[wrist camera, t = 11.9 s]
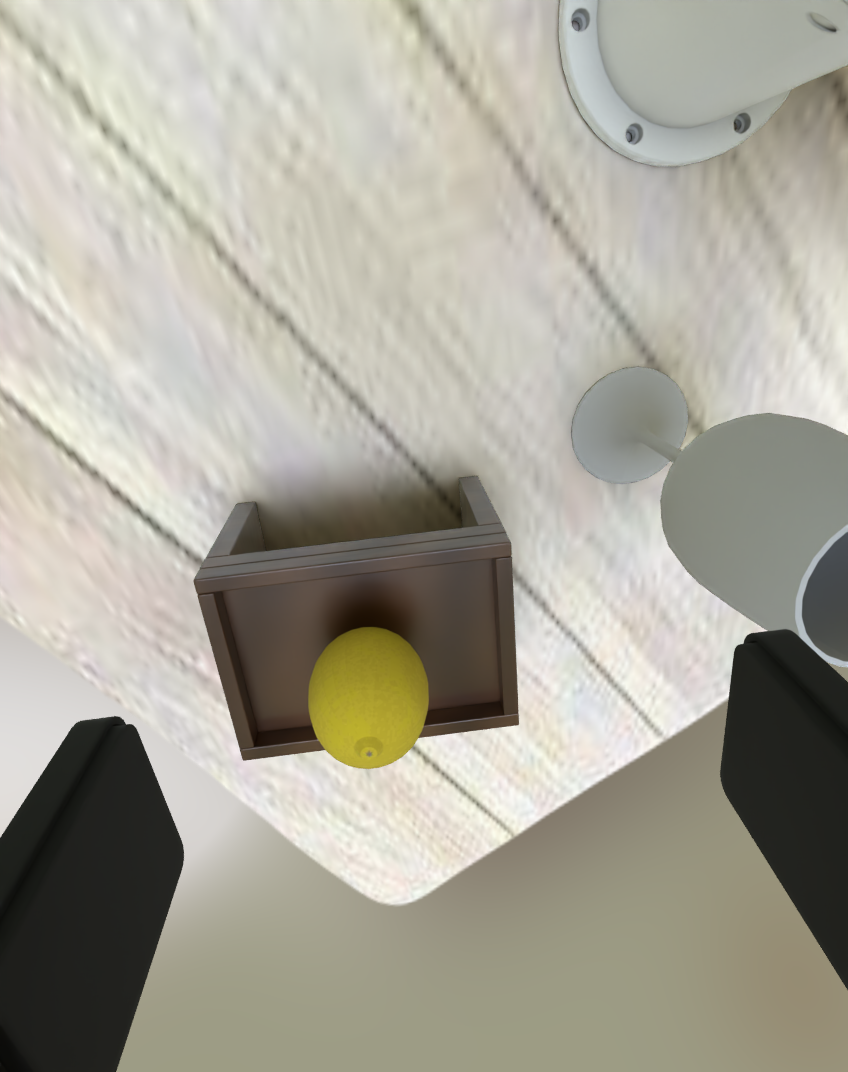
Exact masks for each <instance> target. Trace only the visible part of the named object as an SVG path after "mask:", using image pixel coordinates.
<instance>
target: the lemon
mask: <svg viewBox="0 0 848 1072" xmlns="http://www.w3.org/2000/svg"><path fill="white" fill-rule="evenodd" d="M428 704H429V693H428V680H427V675H426V672H425V670H424V667H423V664H422V661H421V659H420V657H419V656H418V654H417V653H416V652H415V650H414V649H413V648H412V646H411V645H410V644H409V643H408V642H407V641H406V640H404V639H403V638H402V637H401V636H399V635H398V634H396V633H393V632H391V631H389V630H387V629H382V628H377V627H361V628H357V629H353V630H350V631H348V632H346V633H344V634H342V635H340V636H338V637H337V638H336V639H335V640H333V641H332V642H331V643H330V644H329V645H328V646H327V647H326V648H325V650H324V651H323V652H322V654H321V655H320V657H319V658H318V660H317V662H316V664H315V667H314V670H313V673H312V676H311V679H310V683H309V695H308V707H309V714H310V719H311V722H312V725H313V728H314V732H315V734H316V736H317V738H318V740H319V741H320V743H321V744H322V746H323V747H324V749H325V750H326V751H327V752H328V753H329V754H330V755H332V756H333V757H334V758H335V759H336V760H338V761H340V762H342V763H344V764H346V765H348V766H352V767H356V768H365V769H371V768H379V767H382V766H385V765H388V764H391V763H393V762H394V761H396V760H398V759H399V758H401V757H403V756H404V755H405V754H406V753H407V752H408V751H409V750H410V749H411V748H412V747H413V746H414V744H415V742H416V741H417V739H418V737H419V735H420V734H421V732H422V729H423V726H424V722H425V719H426V715H427V711H428Z"/></svg>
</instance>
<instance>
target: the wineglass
mask: <svg viewBox="0 0 848 1072" xmlns="http://www.w3.org/2000/svg"><path fill="white" fill-rule="evenodd" d="M687 424H688V409H687V404H686V401H685V398H684V395H683V393H682V392H681V390H680V389H679V387H678V385H677V384H676V383H675V382H674V381H673V380H672V379H670V378H669V377H668V376H667V375H665V374H663V373H661V372H659V371H656V370H654V369H650V368H644V367H631V368H623V369H621V370H618V371H615V372H612V373H610V374H608V375H607V376H605V377H603V378H602V379H600V380H599V381H597V382H596V383H595V384H594V385H593V386H592V387H591V388H590V389H589V390H588V391H587V392H586V394H585V395H584V397H583V398H582V400H581V401H580V403H579V404H578V407H577V409H576V412H575V415H574V418H573V422H572V430H571V436H572V444H573V448H574V451H575V454H576V456H577V459H578V460H579V461H580V463H581V464H582V465H583V467H584V468H585V469H586V470H587V471H588V472H590V473H591V474H592V475H594V476H595V477H596V478H599V479H601V480H604V481H606V482H610V483H618V484H624V483H633V482H637V481H640V480H643V479H646V478H648V477H650V476H652V475H653V474H655V473H657V472H658V471H660V470H661V469H662V468H663V467H664V466H665V465H667V464H668V463H669V462H670V461H671V462H673V464H672V466H671V468H670V470H669V472H668V475H667V477H666V479H665V481H664V484H663V489H662V495H661V500H660V503H661V518H662V527H663V531H664V534H665V537H666V540H667V542H668V545H669V547H670V548H671V550H672V551H673V553H674V554H675V555H676V557H677V558H678V560H679V561H680V562H681V564H682V565H683V566H684V568H685V569H686V570H687V572H688V573H689V574H690V575H691V576H692V577H693V578H694V579H695V580H696V581H697V582H698V583H699V584H701V585H702V586H703V587H705V588H706V589H707V590H709V591H710V592H711V593H713V594H714V595H716V596H717V597H718V598H720V599H721V600H722V601H724V602H725V603H727V604H728V605H729V606H731V607H732V608H734V609H735V610H737V611H738V612H740V613H741V614H743V615H744V616H746V617H747V618H749V619H750V620H752V621H753V622H755V623H756V624H758V625H759V626H761V627H762V628H764V629H766V630H767V631H773V630H781V629H788V630H791V631H793V632H794V633H796V634H797V635H798V636H799V637H800V638H801V639H802V640H803V641H804V642H805V643H806V644H808V645H809V646H810V647H811V648H812V649H813V650H814V651H815V652H816V653H817V654H818V655H819V656H820V657H821V658H823V659H824V660H825V661H826V662H829V663H832V664H835V665H838V666H840V667H848V435H846V434H844V433H842V432H839V431H837V430H835V429H833V428H831V427H829V426H826V425H824V424H821V423H818V422H815V421H812V420H809V419H805V418H799V417H792V416H786V415H779V414H772V413H765V414H756V415H747V416H743V417H740V418H736V419H733V420H730V421H727V422H724V423H721V424H718V425H716V426H714V427H712V428H710V429H709V430H707V431H705V432H704V433H702V434H701V435H699V436H697V437H696V438H695V439H694V440H693V441H692V442H691V443H690V444H689V445H688V446H687V447H685V448H684V449H683V450H682V451H681V450H679V448H680V446H681V444H682V442H683V439H684V437H685V434H686V429H687Z"/></svg>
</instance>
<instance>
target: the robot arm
mask: <svg viewBox="0 0 848 1072" xmlns="http://www.w3.org/2000/svg"><path fill="white" fill-rule="evenodd" d="M574 20H575V21H577V22H578V23H579V25H580V29H579V31H576V30H575V29H574V28H573V27H572V21H574ZM559 43H560V51H561V60H562V66H563V70H564V73H565V77H566V80H567V84H568V87H569V90H570V93H571V95H572V97H573V99H574V101H575V103H576V105H577V107H578V109H579V111H580V113H581V115H582V117H583V118H584V120H585V121H586V122H587V123H588V125H589V126H590V127H591V129H592V130H593V131H594V133H595V134H596V135H597V136H598V137H599V138H600V139H601V140H603V141H604V142H605V143H606V144H607V145H609V146H610V147H611V148H612V149H613V150H614V151H616V152H618V153H620V154H622V155H624V156H626V157H628V158H630V159H632V160H634V161H637V162H641V163H645V164H649V165H653V166H673V167H679V166H683V165H688V164H693V163H697V162H702V161H704V160H707V159H710V158H712V157H715V156H718V155H721V154H723V153H724V152H726V151H728V150H730V149H732V148H733V147H735V146H737V145H739V144H741V143H742V142H744V141H745V140H746V139H747V138H749V137H750V136H751V135H752V134H753V133H755V132H756V131H757V130H758V129H760V128H761V127H762V126H763V125H764V124H765V123H766V122H767V121H768V120H769V119H770V117H771V116H772V115H773V114H774V113H775V112H776V111H777V110H778V108H779V107H780V106H781V105H782V104H783V102H784V101H785V99H786V98H787V96H788V95H789V93H790V92H791V90H792V89H793V88H795V87H797V86H799V85H802V84H804V83H806V82H809V81H811V80H814V79H816V78H818V77H821V76H823V75H825V74H828V73H830V72H833V71H835V70H837V69H840V68H842V67H844V66H847V65H848V0H560V7H559ZM734 122H735V123H736V124H737V128H736V130H734ZM627 131H628V132H630V133H631V134H632V140H631V141H630V142H628V141H627V139H626V132H627ZM720 777H721V782H722V786H723V789H724V792H725V794H726V796H727V798H728V799H729V801H730V803H731V804H732V806H733V807H734V809H735V811H736V812H737V814H738V815H739V817H740V818H741V820H742V822H743V823H744V825H745V827H746V828H747V829H748V831H749V833H750V835H751V836H752V838H753V839H754V841H755V843H756V844H757V846H758V847H759V849H760V850H761V852H762V854H763V855H764V857H765V858H766V860H767V862H768V863H769V865H770V866H771V868H772V870H773V871H774V873H775V875H776V876H777V878H778V879H779V881H780V883H781V884H782V886H783V887H784V889H785V891H786V892H787V894H788V895H789V897H790V899H791V900H792V902H793V903H794V905H795V906H796V908H797V910H798V911H799V913H800V914H801V916H802V918H803V919H804V921H805V923H806V924H807V926H808V927H809V929H810V930H811V932H812V933H813V935H814V937H815V939H816V940H817V942H818V943H819V945H820V947H821V948H822V950H823V951H824V953H825V954H826V956H827V958H828V959H829V961H830V962H831V964H832V966H833V967H834V969H835V970H836V972H837V974H838V975H839V977H840V979H841V980H842V982H843V983H844V985H845V987H846V988H847V989H848V682H847V681H846V680H845V679H844V678H843V677H842V676H841V675H840V674H838V673H837V672H836V671H835V670H834V669H833V668H832V667H831V666H830V665H829V664H828V663H827V662H826V661H825V660H824V659H823V658H821V657H820V656H819V655H818V654H817V653H816V652H815V651H814V650H813V649H812V648H811V647H810V646H809V645H808V644H806V643H805V642H804V641H803V640H802V639H801V638H800V637H799V636H798V635H797V634H796V633H794V632H793V631H791V630H788V629H781V630H773V631H766V632H758V633H751V634H749V635H747V636H746V638H745V640H744V644H740V645H737V647H736V648H735V651H734V658H733V667H732V675H731V684H730V692H729V701H728V710H727V718H726V727H725V735H724V745H723V753H722V761H721V770H720ZM183 861H184V850H183V844H182V841H181V838H180V836H179V833H178V831H177V828H176V826H175V823H174V821H173V818H172V816H171V813H170V811H169V808H168V806H167V803H166V801H165V798H164V796H163V793H162V791H161V788H160V786H159V783H158V781H157V778H156V776H155V773H154V771H153V769H152V766H151V763H150V761H149V758H148V756H147V754H146V751H145V749H144V746H143V744H142V741H141V739H140V736H139V734H138V731H137V729H136V728H135V727H134V726H133V725H132V724H127V725H126V724H125V722H124V720H123V719H122V718H120V717H116V716H114V717H107V718H99V719H92V720H84V721H80V722H78V723H76V724H75V725H74V726H73V727H72V728H71V730H70V731H69V733H68V735H67V736H66V738H65V739H64V741H63V742H62V744H61V745H60V747H59V748H58V750H57V751H56V753H55V755H54V756H53V758H52V759H51V761H50V762H49V764H48V765H47V767H46V768H45V770H44V771H43V773H42V775H41V776H40V778H39V779H38V781H37V782H36V784H35V785H34V787H33V788H32V790H31V791H30V793H29V794H28V796H27V798H26V799H25V801H24V802H23V804H22V805H21V807H20V808H19V810H18V811H17V813H16V814H15V816H14V818H13V819H12V821H11V822H10V824H9V825H8V827H7V829H6V830H5V832H4V833H3V834H2V836H1V838H0V1072H116V1070H117V1067H118V1064H119V1061H120V1058H121V1055H122V1052H123V1049H124V1046H125V1043H126V1040H127V1037H128V1034H129V1030H130V1027H131V1024H132V1021H133V1018H134V1015H135V1012H136V1009H137V1006H138V1003H139V1000H140V997H141V994H142V991H143V987H144V984H145V981H146V978H147V975H148V972H149V969H150V966H151V963H152V960H153V957H154V954H155V951H156V948H157V944H158V941H159V938H160V935H161V932H162V929H163V926H164V923H165V920H166V917H167V914H168V911H169V908H170V904H171V901H172V898H173V895H174V892H175V889H176V886H177V883H178V880H179V877H180V874H181V870H182V867H183Z"/></svg>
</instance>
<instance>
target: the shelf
mask: <svg viewBox="0 0 848 1072" xmlns="http://www.w3.org/2000/svg"><path fill="white" fill-rule="evenodd" d="M459 489H460V502H461V515H462V528H457V529H449V530H440V531H432V532H424V533H415V534H407V535H398V536H390V537H382V538H373V539H365V540H356V541H348V542H339V543H331V544H323V545H314V546H306V547H297V548H289V549H281V550H272V551H266V548H265V544H264V539H263V535H262V530H261V525H260V521H259V516H258V512H257V507H256V503H255V502H249V503H240V504H236V506H235V507H234V509H233V511H232V513H231V514H230V516H229V518H228V520H227V521H226V523H225V525H224V527H223V529H222V530H221V532H220V534H219V536H218V537H217V539H216V541H215V543H214V544H213V546H212V548H211V550H210V551H209V553H208V555H207V557H206V559H205V560H204V562H203V564H202V565H201V567H200V570H199V571H198V573H197V575H196V576H195V578H194V585H195V588H196V592H197V594H198V599H199V603H200V607H201V610H202V614H203V618H204V621H205V625H206V628H207V632H208V636H209V639H210V643H211V646H212V650H213V654H214V657H215V661H216V664H217V668H218V672H219V675H220V679H221V683H222V686H223V690H224V693H225V697H226V701H227V704H228V708H229V711H230V715H231V719H232V722H233V726H234V730H235V733H236V737H237V740H238V744H239V748H240V752H241V755H242V759H243V760H252V759H260V758H267V757H275V756H283V755H291V754H298V753H306V752H314V751H321V750H325V749H324V747H323V746H322V744H321V743H320V741H319V740H318V738H317V736H316V734H315V732H314V728H313V725H312V722H311V719H310V714H309V707H308V695H309V683H310V679H311V676H312V673H313V670H314V667H315V664H316V662H317V660H318V658H319V657H320V655H321V654H322V652H323V651H324V650H325V648H326V647H327V646H328V645H329V644H330V643H331V642H332V641H333V640H335V639H336V638H337V637H338V636H340V635H342V634H344V633H346V632H348V631H350V630H353V629H357V628H361V627H377V628H382V629H387V630H389V631H391V632H393V633H396V634H398V635H399V636H401V637H402V638H403V639H404V640H406V641H407V642H408V643H409V644H410V645H411V646H412V648H413V649H414V650H415V652H416V653H417V654H418V656H419V657H420V659H421V661H422V664H423V667H424V670H425V672H426V675H427V680H428V693H429V704H428V711H427V715H426V719H425V722H424V726H423V729H422V732H421V734H420V735H419V737H418V738H422V737H429V736H437V735H445V734H452V733H460V732H468V731H476V730H483V729H491V728H499V727H506V726H514V725H519V714H518V690H517V666H516V643H515V620H514V596H513V573H512V557H511V542H510V540H509V538H508V536H507V534H506V531H505V529H504V527H503V525H502V524H501V521H500V519H499V517H498V515H497V513H496V512H495V510H494V508H493V506H492V504H491V502H490V500H489V498H488V496H487V494H486V492H485V490H484V488H483V486H482V484H481V482H480V480H479V478H478V476H472V477H463V478H459Z"/></svg>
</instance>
